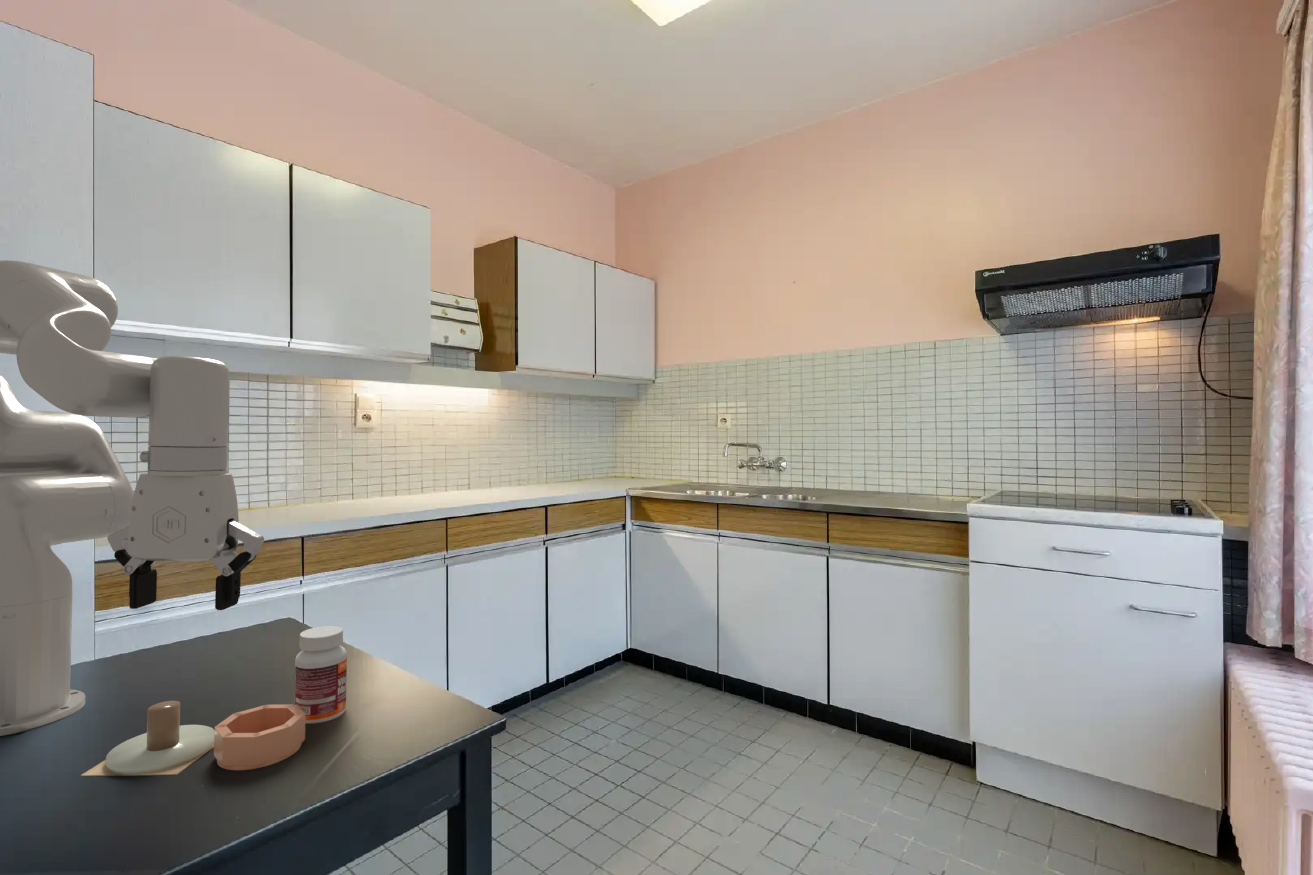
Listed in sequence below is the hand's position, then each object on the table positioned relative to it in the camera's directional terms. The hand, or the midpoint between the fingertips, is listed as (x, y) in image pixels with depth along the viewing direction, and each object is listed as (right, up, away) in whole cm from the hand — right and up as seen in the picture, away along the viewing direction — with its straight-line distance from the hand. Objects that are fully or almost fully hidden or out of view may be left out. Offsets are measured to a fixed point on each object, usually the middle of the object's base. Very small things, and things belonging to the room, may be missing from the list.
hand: (185, 606), depth 73 cm
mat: (-2, -17, -1) cm, 17 cm away
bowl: (+9, -17, 0) cm, 20 cm away
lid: (-2, -17, -1) cm, 17 cm away
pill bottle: (+11, -18, +10) cm, 23 cm away
